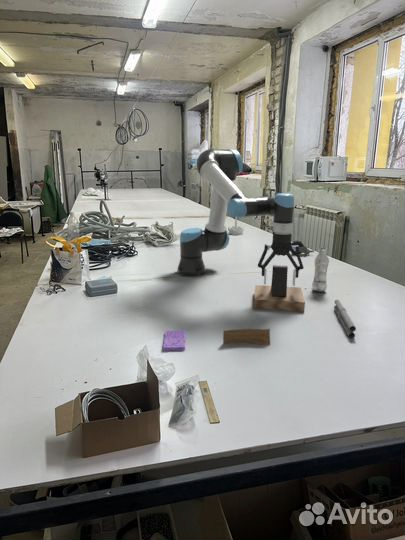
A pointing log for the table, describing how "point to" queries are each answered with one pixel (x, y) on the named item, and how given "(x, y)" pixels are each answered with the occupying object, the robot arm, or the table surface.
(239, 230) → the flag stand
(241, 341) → the wood plank
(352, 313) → the table surface
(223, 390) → the table surface
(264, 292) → the wooden board
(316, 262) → the plastic bottle
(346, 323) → the metal rod assembly
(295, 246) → the robot arm
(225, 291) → the table surface
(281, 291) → the phone stand
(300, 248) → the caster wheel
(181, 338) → the sponges
